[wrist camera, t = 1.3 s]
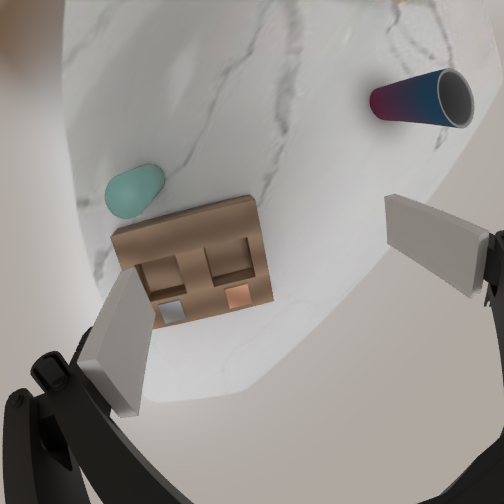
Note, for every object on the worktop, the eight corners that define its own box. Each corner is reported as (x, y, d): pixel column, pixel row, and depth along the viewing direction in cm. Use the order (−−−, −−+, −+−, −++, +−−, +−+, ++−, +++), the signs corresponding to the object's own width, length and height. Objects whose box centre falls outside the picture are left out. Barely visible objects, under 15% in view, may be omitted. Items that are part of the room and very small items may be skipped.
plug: (130, 169, 33) (99, 181, 22) (160, 160, 33) (141, 167, 22) (138, 199, 34) (112, 223, 23) (168, 190, 35) (153, 212, 24)
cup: (398, 130, 37) (473, 136, 23) (362, 119, 35) (436, 116, 22) (402, 90, 34) (474, 82, 21) (366, 76, 33) (437, 58, 19)
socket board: (117, 228, 35) (109, 237, 32) (250, 194, 37) (255, 200, 33) (150, 316, 41) (147, 331, 37) (268, 288, 42) (274, 302, 39)
